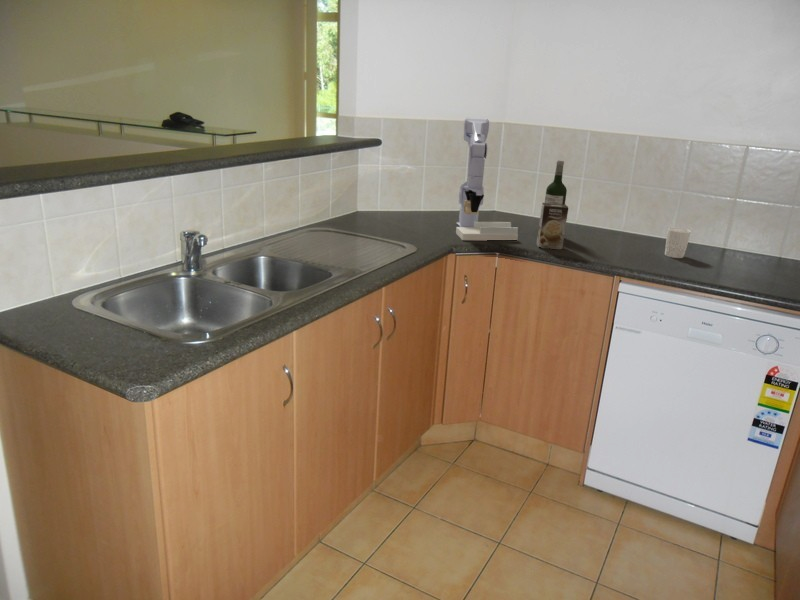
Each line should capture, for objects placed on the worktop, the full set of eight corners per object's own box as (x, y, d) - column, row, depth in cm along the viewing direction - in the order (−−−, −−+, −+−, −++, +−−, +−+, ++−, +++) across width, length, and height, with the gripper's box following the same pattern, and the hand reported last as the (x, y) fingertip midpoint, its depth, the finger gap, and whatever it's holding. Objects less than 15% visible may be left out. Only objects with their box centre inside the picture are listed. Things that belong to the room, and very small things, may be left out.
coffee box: (537, 247, 239) (543, 205, 233) (536, 243, 245) (541, 202, 239) (562, 249, 238) (568, 207, 233) (560, 245, 244) (566, 204, 239)
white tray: (455, 233, 254) (456, 220, 252) (508, 233, 258) (510, 221, 256) (462, 240, 244) (463, 227, 242) (517, 240, 247) (518, 228, 246)
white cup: (658, 253, 240) (663, 227, 237) (674, 252, 243) (679, 226, 240) (673, 259, 234) (678, 232, 230) (690, 258, 236) (695, 232, 233)
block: (463, 211, 248) (464, 200, 247) (474, 211, 249) (475, 200, 247) (466, 214, 244) (467, 202, 242) (477, 214, 245) (478, 202, 243)
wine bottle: (540, 236, 256) (550, 161, 245) (540, 232, 263) (550, 158, 253) (560, 238, 254) (571, 163, 244) (560, 234, 261) (570, 160, 251)
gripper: (461, 172, 248) (458, 206, 252) (470, 178, 234) (467, 214, 239) (478, 172, 249) (475, 206, 253) (488, 178, 235) (485, 214, 240)
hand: (472, 210), depth 246 cm, fingers closed on block, 4 cm apart
